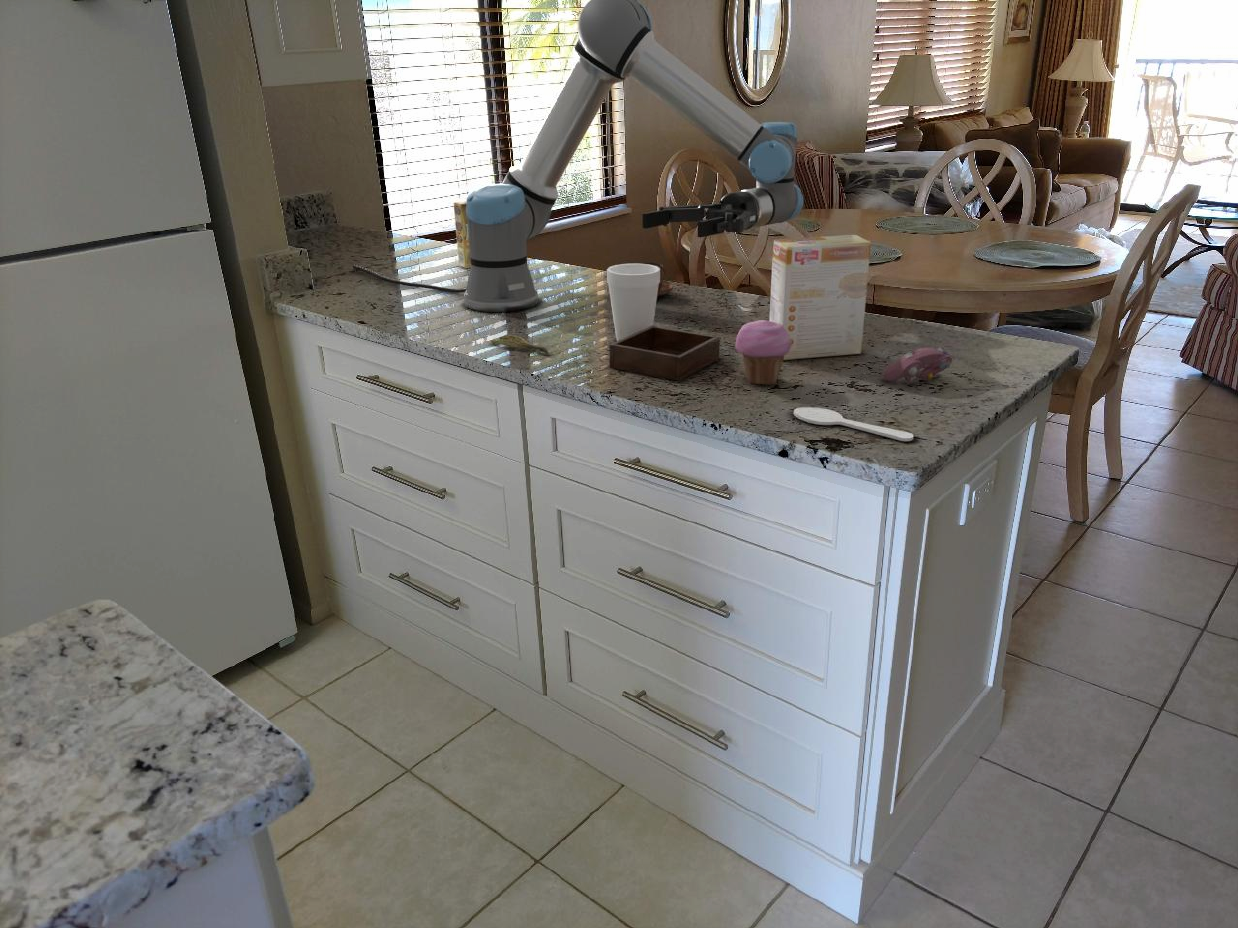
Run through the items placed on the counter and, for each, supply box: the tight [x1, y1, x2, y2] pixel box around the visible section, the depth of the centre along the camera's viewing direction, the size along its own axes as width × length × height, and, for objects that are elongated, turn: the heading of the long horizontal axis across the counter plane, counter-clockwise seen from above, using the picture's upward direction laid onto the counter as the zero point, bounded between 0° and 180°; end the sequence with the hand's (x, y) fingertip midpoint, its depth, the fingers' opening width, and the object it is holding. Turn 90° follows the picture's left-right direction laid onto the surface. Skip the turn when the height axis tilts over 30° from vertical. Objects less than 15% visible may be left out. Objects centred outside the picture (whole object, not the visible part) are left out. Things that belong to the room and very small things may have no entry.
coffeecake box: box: [768, 234, 872, 361], centre depth 164 cm, size 15×7×20 cm, turn 102°
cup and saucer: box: [633, 261, 675, 297], centre depth 205 cm, size 12×12×6 cm
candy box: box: [453, 200, 471, 269], centre depth 232 cm, size 9×4×15 cm, turn 126°
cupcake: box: [734, 319, 791, 386], centre depth 152 cm, size 9×9×10 cm
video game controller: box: [882, 346, 953, 385], centre depth 152 cm, size 10×5×7 cm, turn 114°
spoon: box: [793, 406, 914, 442], centre depth 136 cm, size 5×18×1 cm, turn 52°
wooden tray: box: [608, 325, 721, 382], centre depth 162 cm, size 14×14×4 cm
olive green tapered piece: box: [489, 334, 549, 356], centre depth 172 cm, size 4×13×2 cm, turn 55°
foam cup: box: [606, 263, 660, 342], centre depth 173 cm, size 10×9×13 cm
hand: (670, 225), depth 174 cm, fingers open, 13 cm apart
